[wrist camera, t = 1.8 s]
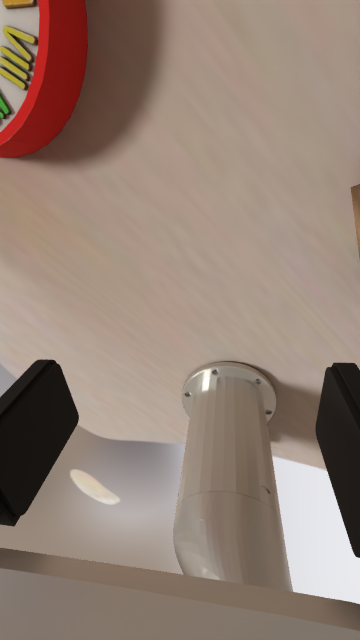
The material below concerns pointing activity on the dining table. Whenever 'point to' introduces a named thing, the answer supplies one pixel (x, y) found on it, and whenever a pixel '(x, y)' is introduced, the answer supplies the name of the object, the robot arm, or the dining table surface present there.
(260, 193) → the dining table surface
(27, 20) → the toy clock
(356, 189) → the walnut block
